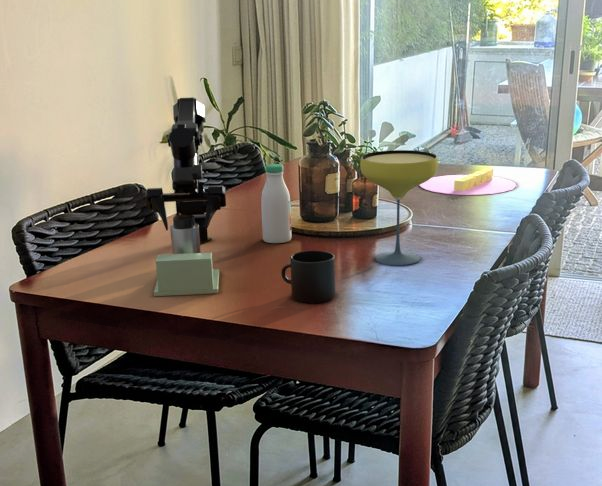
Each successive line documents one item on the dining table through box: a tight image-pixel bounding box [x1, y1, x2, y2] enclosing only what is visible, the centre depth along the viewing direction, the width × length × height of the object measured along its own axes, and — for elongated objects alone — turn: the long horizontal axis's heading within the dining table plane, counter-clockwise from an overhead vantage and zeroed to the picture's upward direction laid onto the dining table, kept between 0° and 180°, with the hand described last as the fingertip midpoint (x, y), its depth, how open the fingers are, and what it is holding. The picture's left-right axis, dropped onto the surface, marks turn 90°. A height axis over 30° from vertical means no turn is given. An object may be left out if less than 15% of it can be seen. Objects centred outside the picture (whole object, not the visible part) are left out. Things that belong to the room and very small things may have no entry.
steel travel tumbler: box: [169, 214, 202, 254], centre depth 197 cm, size 6×6×14 cm
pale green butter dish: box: [153, 252, 220, 297], centre depth 196 cm, size 15×14×8 cm
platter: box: [419, 168, 517, 196], centre depth 289 cm, size 32×32×3 cm
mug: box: [280, 249, 336, 304], centre depth 186 cm, size 9×12×9 cm
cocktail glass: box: [359, 149, 439, 267], centre depth 206 cm, size 18×18×25 cm
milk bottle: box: [260, 163, 292, 244], centre depth 227 cm, size 8×8×20 cm
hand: (186, 228), depth 202 cm, fingers open, 9 cm apart
